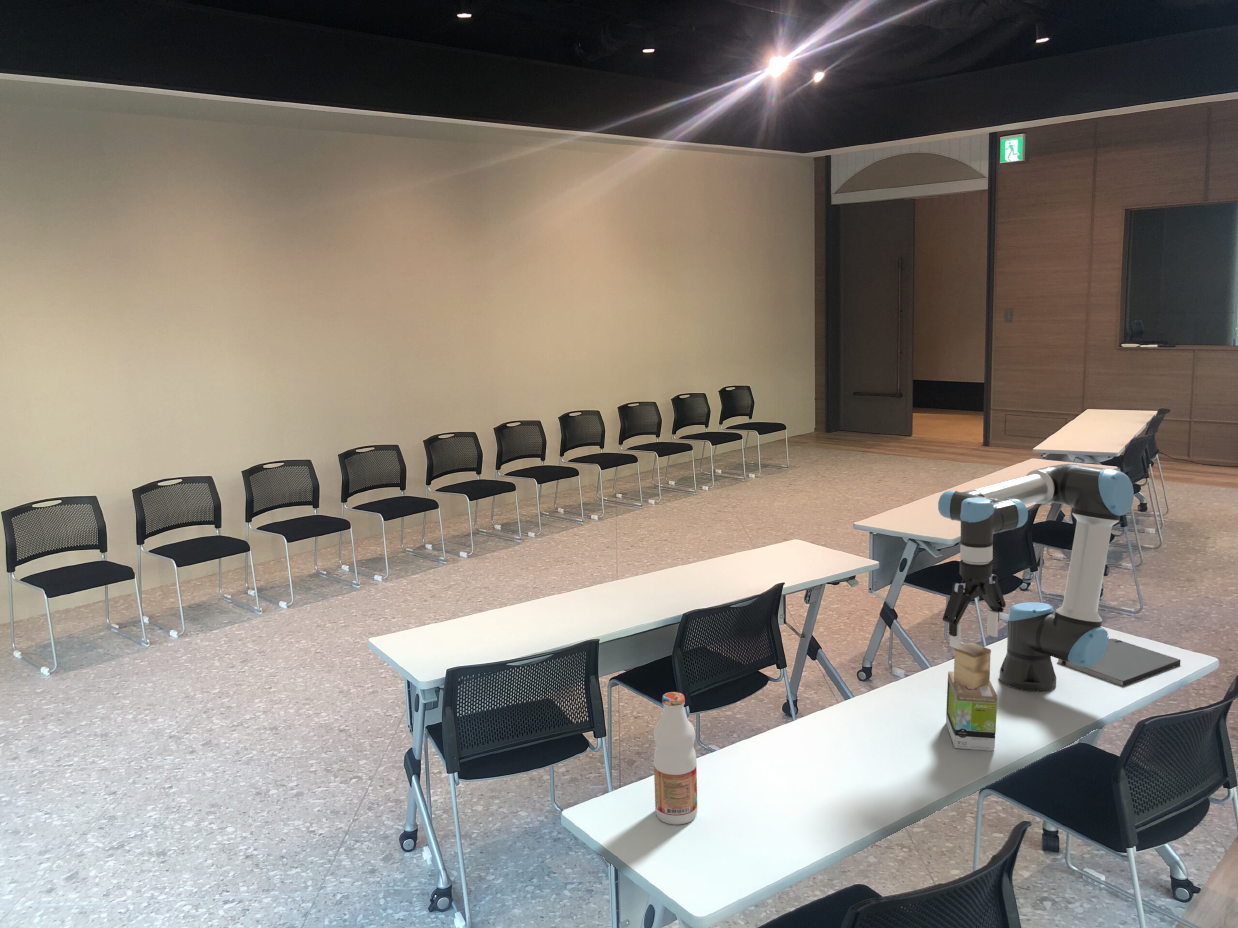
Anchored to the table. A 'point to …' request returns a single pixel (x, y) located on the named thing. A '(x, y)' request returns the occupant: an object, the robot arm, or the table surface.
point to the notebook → (1127, 663)
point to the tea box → (971, 715)
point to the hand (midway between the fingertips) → (973, 641)
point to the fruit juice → (675, 763)
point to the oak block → (972, 665)
